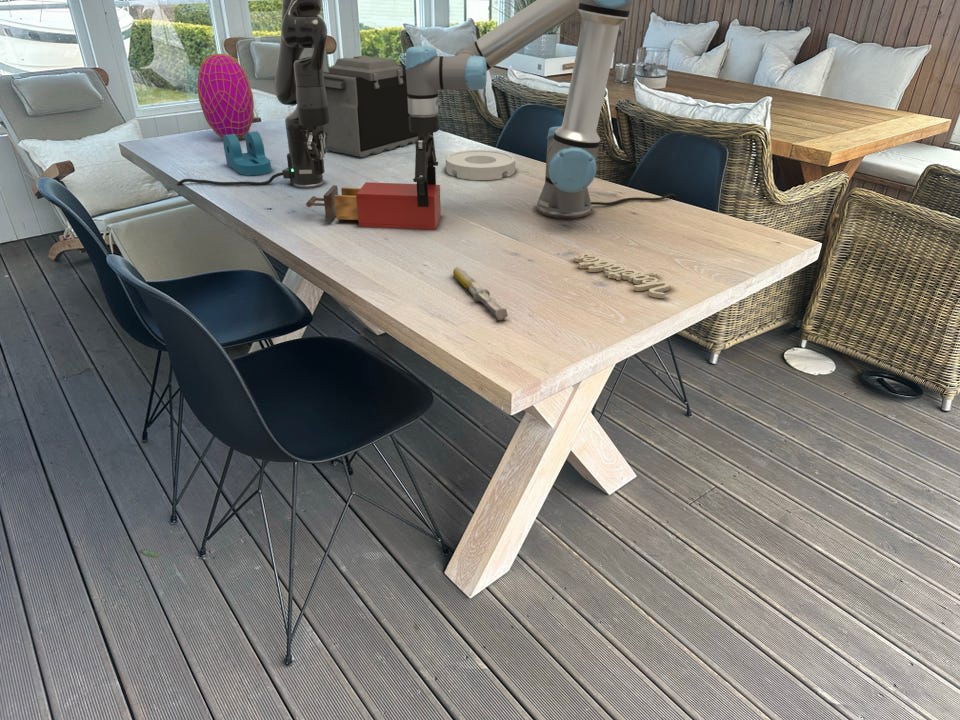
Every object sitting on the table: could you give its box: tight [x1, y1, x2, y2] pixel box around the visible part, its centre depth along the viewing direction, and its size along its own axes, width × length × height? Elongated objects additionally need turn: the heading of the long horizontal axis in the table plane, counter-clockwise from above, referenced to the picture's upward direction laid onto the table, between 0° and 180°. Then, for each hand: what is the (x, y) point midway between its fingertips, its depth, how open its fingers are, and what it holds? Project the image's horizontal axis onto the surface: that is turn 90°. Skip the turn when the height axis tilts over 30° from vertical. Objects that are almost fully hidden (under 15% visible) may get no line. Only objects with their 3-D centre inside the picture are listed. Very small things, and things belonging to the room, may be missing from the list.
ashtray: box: [445, 149, 516, 181], centre depth 229 cm, size 23×23×4 cm
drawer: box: [305, 184, 361, 222], centre depth 184 cm, size 25×9×7 cm, turn 85°
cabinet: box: [356, 181, 442, 231], centre depth 183 cm, size 20×11×9 cm, turn 85°
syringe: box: [452, 266, 509, 321], centre depth 145 cm, size 25×4×3 cm, turn 21°
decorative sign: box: [574, 252, 671, 299], centre depth 155 cm, size 26×1×10 cm
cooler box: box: [323, 55, 418, 159], centre depth 250 cm, size 37×22×30 cm, turn 144°
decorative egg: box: [197, 53, 255, 140], centre depth 258 cm, size 19×19×30 cm
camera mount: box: [222, 131, 272, 176], centre depth 226 cm, size 18×10×10 cm, turn 35°
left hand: (319, 173), depth 181 cm, fingers closed
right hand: (427, 198), depth 182 cm, fingers open, 13 cm apart
